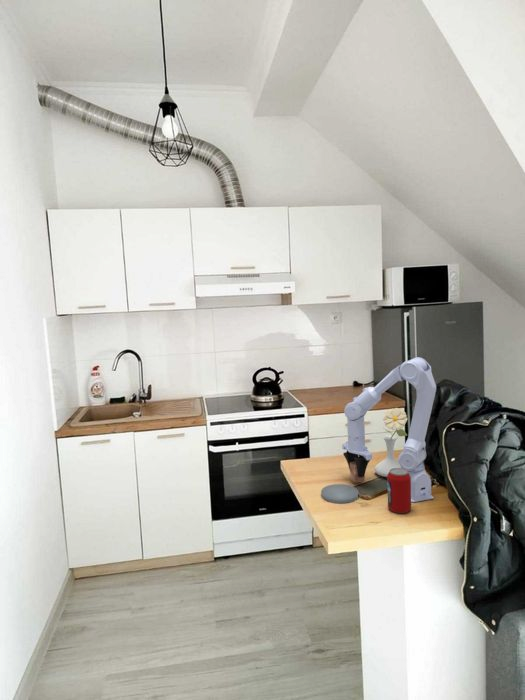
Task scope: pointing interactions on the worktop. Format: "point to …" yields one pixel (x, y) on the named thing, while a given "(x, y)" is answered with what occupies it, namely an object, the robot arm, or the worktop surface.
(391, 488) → the beverage can
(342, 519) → the worktop surface
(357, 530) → the worktop surface
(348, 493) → the slate base plate
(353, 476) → the terracotta block
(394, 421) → the flower in vase
